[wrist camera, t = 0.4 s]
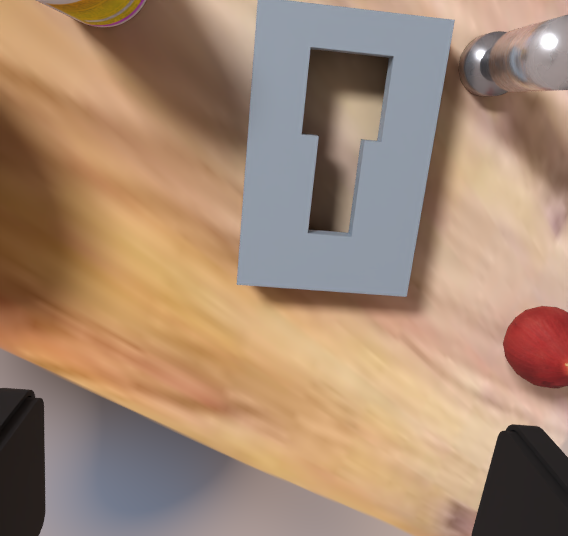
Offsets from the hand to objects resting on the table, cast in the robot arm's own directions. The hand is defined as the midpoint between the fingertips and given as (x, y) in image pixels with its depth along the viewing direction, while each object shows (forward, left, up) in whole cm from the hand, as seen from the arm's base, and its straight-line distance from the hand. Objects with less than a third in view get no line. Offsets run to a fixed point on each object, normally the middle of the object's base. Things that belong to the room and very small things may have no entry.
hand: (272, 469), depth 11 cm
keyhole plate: (-4, +5, -29) cm, 30 cm away
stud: (-11, +15, -29) cm, 35 cm away
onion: (+8, +22, -29) cm, 37 cm away
